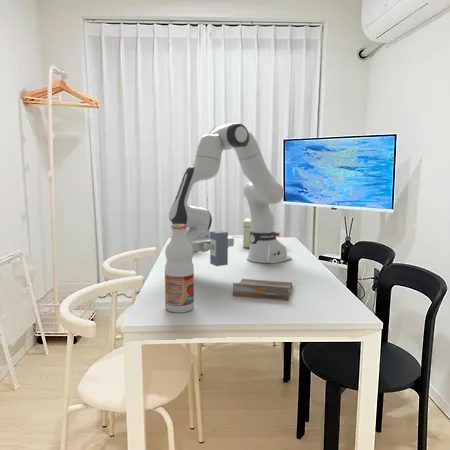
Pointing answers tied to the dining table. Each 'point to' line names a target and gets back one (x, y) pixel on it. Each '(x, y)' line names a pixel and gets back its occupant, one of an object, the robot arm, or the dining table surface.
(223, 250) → the carton
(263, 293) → the shelf board
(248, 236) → the gift box
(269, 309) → the dining table surface
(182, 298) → the fruit juice
